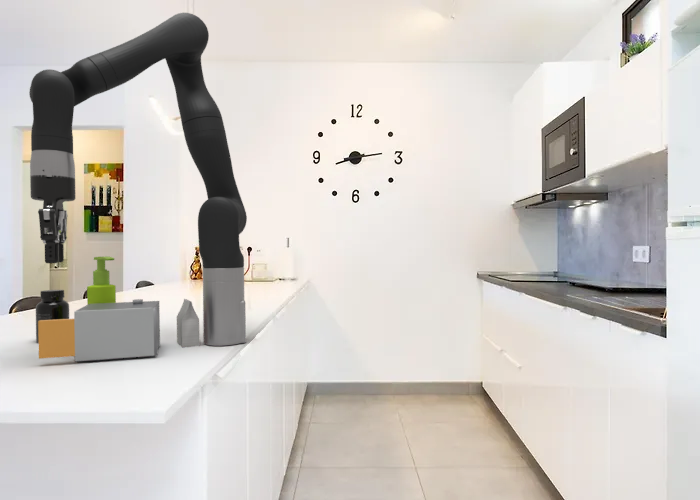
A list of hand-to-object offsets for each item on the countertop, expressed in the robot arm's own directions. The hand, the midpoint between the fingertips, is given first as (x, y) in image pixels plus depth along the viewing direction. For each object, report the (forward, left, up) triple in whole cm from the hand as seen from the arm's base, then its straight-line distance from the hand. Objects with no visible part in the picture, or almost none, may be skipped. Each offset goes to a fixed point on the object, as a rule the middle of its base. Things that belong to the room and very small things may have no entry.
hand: (54, 262), depth 93 cm
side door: (-9, +5, -19) cm, 21 cm away
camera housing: (-12, -2, -19) cm, 23 cm away
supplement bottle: (+6, -22, -20) cm, 30 cm away
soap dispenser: (-6, -16, -20) cm, 26 cm away
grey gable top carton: (-25, -7, -20) cm, 32 cm away
